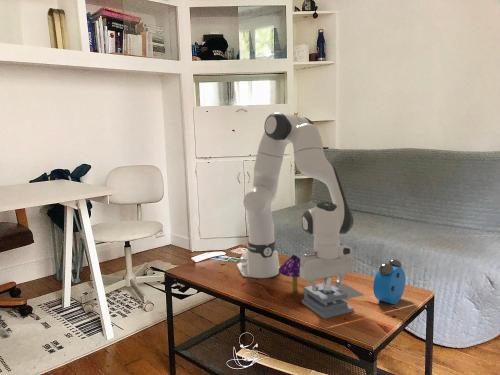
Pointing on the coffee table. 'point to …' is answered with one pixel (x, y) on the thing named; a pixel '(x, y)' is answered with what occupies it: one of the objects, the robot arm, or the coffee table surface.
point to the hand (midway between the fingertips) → (326, 288)
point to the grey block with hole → (326, 301)
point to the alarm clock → (389, 282)
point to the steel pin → (327, 285)
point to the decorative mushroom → (292, 270)
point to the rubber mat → (349, 291)
